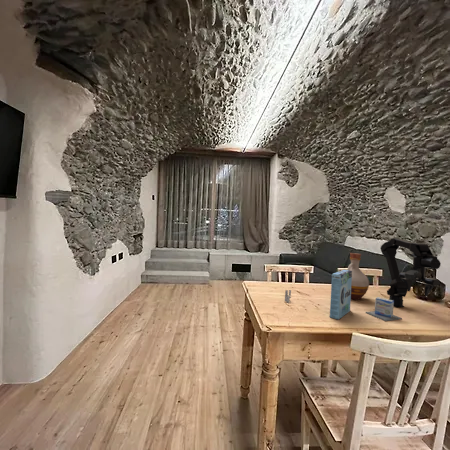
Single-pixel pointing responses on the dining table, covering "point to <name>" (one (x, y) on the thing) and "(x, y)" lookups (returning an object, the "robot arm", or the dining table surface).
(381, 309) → the medicine box
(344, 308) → the gum box
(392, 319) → the slate board
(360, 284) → the jug
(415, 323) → the dining table surface
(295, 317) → the dining table surface
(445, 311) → the dining table surface
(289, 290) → the architectural model
